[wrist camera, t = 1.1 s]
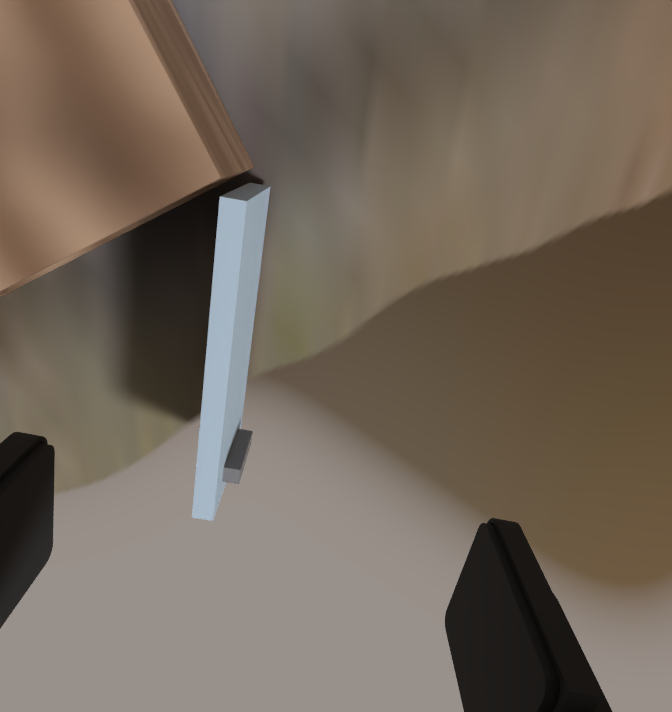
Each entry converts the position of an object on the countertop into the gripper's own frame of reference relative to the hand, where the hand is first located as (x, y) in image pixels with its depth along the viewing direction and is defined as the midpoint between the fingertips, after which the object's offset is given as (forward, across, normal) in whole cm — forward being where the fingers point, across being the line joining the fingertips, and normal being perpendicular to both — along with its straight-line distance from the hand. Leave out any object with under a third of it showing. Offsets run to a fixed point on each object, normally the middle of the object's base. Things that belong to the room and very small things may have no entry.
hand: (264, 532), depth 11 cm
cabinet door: (+23, +3, +4) cm, 23 cm away
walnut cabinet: (+23, +15, -5) cm, 28 cm away
